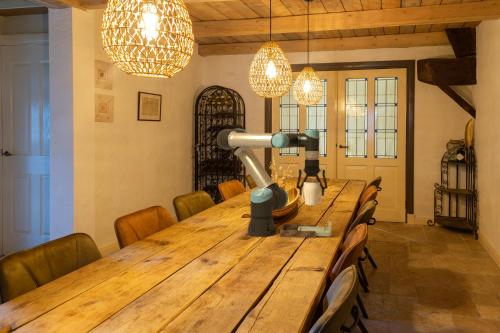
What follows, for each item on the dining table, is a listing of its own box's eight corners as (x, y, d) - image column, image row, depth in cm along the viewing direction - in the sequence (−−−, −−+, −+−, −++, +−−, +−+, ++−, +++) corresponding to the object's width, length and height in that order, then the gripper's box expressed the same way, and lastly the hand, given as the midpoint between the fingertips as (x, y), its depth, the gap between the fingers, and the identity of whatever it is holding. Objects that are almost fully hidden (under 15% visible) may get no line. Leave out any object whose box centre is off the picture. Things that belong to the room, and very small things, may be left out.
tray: (297, 235, 232) (297, 223, 231) (298, 229, 245) (298, 218, 244) (331, 236, 229) (331, 224, 229) (330, 230, 242) (330, 219, 242)
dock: (280, 236, 232) (280, 230, 232) (282, 229, 248) (282, 223, 247) (315, 237, 229) (315, 231, 229) (315, 230, 245) (315, 224, 245)
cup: (319, 206, 231) (320, 183, 230) (302, 205, 232) (302, 182, 232) (320, 203, 240) (320, 181, 239) (303, 202, 241) (303, 180, 240)
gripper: (290, 159, 232) (290, 202, 234) (333, 159, 229) (332, 203, 231) (291, 158, 239) (291, 200, 241) (332, 158, 236) (332, 201, 238)
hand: (311, 201), depth 236 cm, fingers closed on cup, 9 cm apart
